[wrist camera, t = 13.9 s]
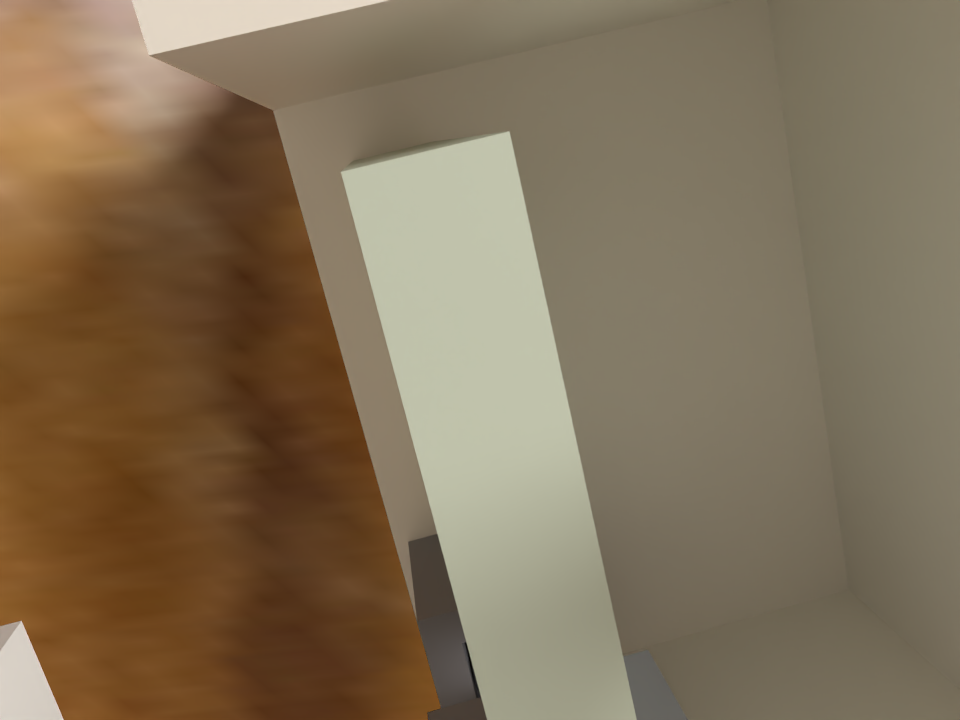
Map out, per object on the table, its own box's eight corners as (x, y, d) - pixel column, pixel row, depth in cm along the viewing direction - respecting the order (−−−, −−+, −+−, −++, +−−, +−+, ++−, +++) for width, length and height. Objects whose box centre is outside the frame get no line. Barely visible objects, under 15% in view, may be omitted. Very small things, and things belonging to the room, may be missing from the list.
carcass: (262, 60, 26) (108, -79, 10) (779, -60, 27) (1354, -351, 11) (447, 720, 32) (529, 1277, 16) (866, 600, 33) (1327, 1012, 17)
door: (305, 171, 26) (240, 196, 12) (479, 130, 26) (606, 108, 12) (445, 678, 30) (513, 1113, 16) (593, 636, 30) (778, 1029, 17)
